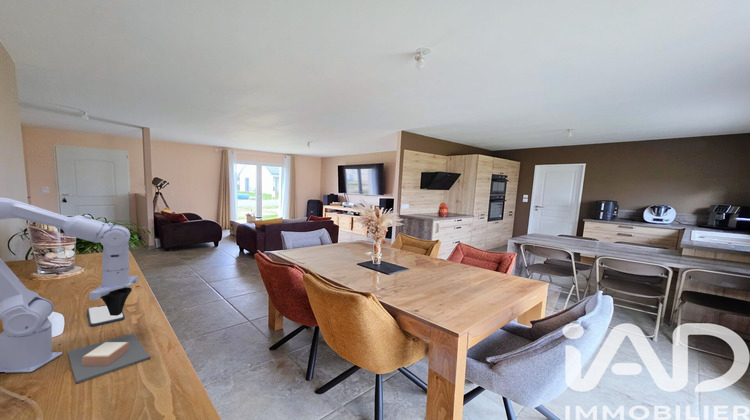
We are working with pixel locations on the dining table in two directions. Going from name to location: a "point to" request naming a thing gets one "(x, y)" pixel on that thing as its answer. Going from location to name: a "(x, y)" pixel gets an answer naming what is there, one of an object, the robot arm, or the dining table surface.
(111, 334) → the dining table surface
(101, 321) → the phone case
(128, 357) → the mat
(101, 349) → the tile
